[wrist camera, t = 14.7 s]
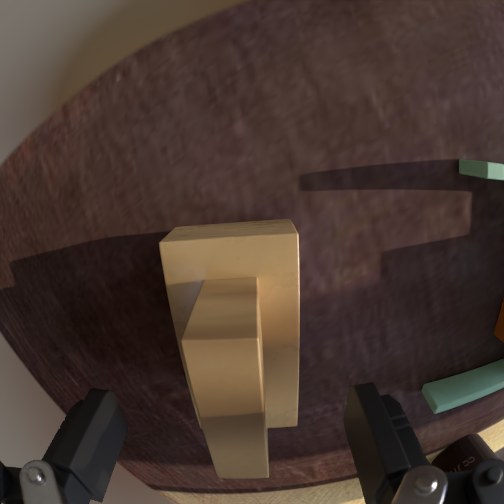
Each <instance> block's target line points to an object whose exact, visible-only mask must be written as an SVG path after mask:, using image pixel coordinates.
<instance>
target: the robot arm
mask: <svg viewBox="0 0 504 504" xmlns="http://www.w3.org/2000/svg"><path fill="white" fill-rule="evenodd" d="M344 425H345V431H346V435H347V438H348V442H349V445H350V449H351V452H352V456H353V459H354V463H355V466H356V470H357V473H358V477H359V481H360V484H361V488H362V492H363V495H364V499H365V503H366V504H504V461H502V460H500V459H497V458H489V459H486V460H483V461H482V462H480V463H479V464H478V465H477V466H476V468H475V469H474V470H468V471H460V472H443V471H442V470H441V469H439V468H438V467H436V466H432V465H431V464H430V463H429V462H428V460H427V458H426V456H425V454H424V452H423V450H422V448H421V446H420V443H419V441H418V439H417V437H416V435H415V433H414V431H413V429H412V427H410V423H409V421H408V419H407V417H405V413H404V411H403V409H402V407H401V405H400V403H399V402H397V401H396V400H395V399H394V398H393V397H391V396H390V395H389V394H387V395H383V396H380V394H379V392H378V390H377V388H376V386H375V384H374V383H373V382H371V383H366V384H360V385H354V386H351V387H350V389H349V394H348V399H347V405H346V410H345V415H344ZM127 428H128V425H127V420H126V417H125V415H124V413H123V411H122V409H121V407H120V404H119V402H118V400H117V398H116V396H115V394H114V392H113V391H111V390H103V389H95V388H93V389H91V390H90V391H89V393H88V394H87V396H86V398H85V399H84V400H80V401H79V402H78V403H76V404H75V405H74V406H73V407H72V408H71V409H70V410H69V412H68V414H67V416H66V417H65V421H63V422H62V424H61V426H60V429H59V430H58V432H57V433H56V435H55V437H54V439H53V440H52V442H51V444H50V446H49V447H48V449H47V451H46V453H45V455H44V457H43V458H42V460H33V461H30V462H28V463H27V464H25V465H24V467H23V468H15V467H5V466H4V464H3V463H2V462H1V461H0V504H1V503H3V504H89V502H90V500H95V501H98V502H102V501H103V498H104V495H105V492H106V489H107V486H108V484H109V481H110V478H111V475H112V472H113V470H114V467H115V464H116V461H117V458H118V456H119V453H120V450H121V448H122V445H123V442H124V440H125V437H126V434H127Z"/></svg>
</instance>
